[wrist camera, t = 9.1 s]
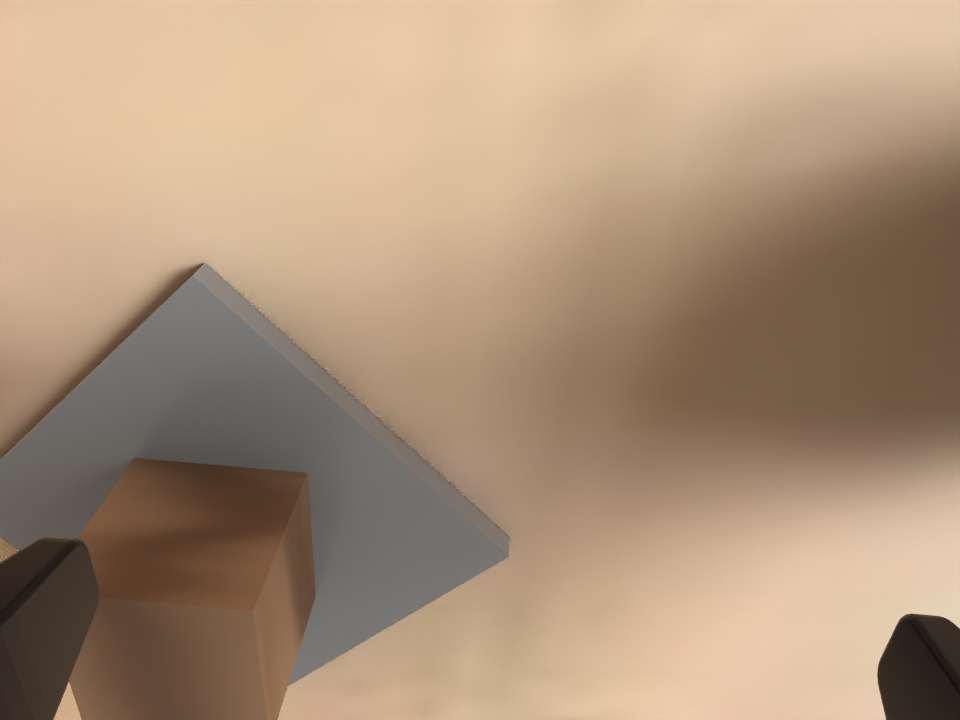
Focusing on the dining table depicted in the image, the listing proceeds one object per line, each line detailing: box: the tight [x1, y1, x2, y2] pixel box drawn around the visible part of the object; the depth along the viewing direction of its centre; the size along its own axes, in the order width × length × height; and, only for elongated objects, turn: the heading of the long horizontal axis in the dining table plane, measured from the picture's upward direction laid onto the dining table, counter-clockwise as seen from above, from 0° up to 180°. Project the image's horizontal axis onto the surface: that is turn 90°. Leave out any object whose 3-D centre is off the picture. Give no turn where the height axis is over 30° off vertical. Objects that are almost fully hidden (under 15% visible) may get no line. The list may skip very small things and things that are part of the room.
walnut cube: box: [69, 458, 316, 720], centre depth 22 cm, size 5×5×5 cm
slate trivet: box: [0, 263, 509, 686], centre depth 24 cm, size 12×12×1 cm
